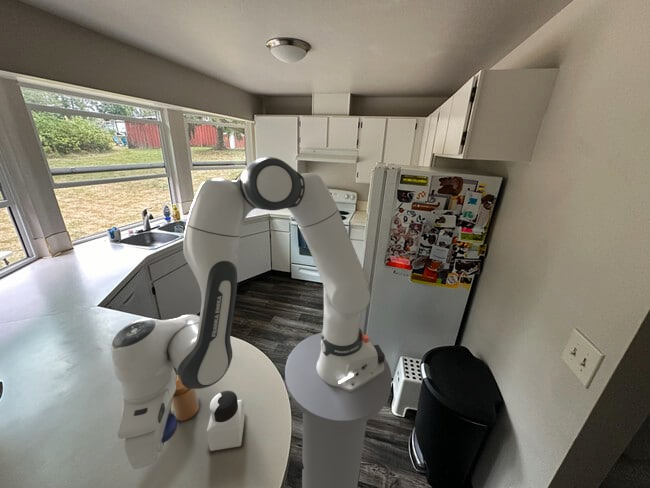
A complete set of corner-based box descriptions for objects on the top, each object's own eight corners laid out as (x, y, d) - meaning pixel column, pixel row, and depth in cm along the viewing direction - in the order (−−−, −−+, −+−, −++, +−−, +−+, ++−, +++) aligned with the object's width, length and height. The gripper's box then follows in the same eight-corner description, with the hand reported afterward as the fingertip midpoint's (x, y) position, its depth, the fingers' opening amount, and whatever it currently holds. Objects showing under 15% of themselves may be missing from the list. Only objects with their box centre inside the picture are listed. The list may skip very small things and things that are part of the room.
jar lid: (142, 448, 55) (140, 443, 54) (153, 420, 60) (151, 415, 60) (173, 442, 56) (171, 437, 56) (181, 415, 62) (179, 410, 61)
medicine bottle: (244, 417, 67) (241, 384, 63) (241, 446, 60) (236, 412, 56) (216, 421, 66) (211, 388, 61) (209, 451, 59) (203, 417, 55)
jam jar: (197, 396, 72) (191, 368, 68) (200, 413, 68) (194, 384, 64) (174, 406, 69) (167, 378, 65) (175, 425, 64) (168, 395, 61)
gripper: (149, 356, 62) (160, 396, 67) (112, 444, 44) (130, 489, 49) (178, 351, 64) (186, 390, 69) (154, 433, 46) (167, 478, 50)
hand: (163, 432), depth 58 cm, fingers closed on jar lid, 6 cm apart
